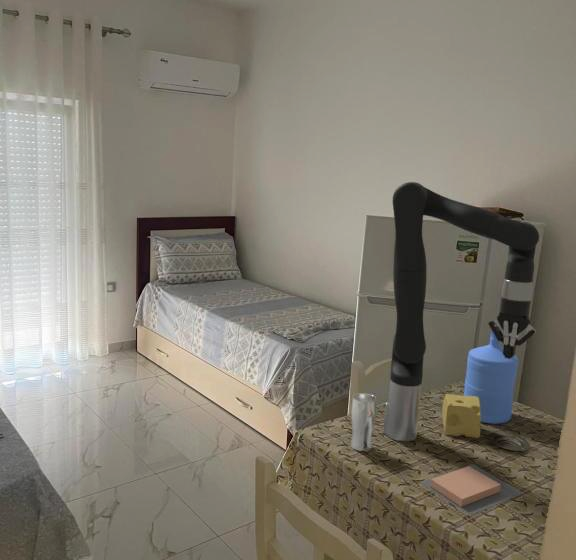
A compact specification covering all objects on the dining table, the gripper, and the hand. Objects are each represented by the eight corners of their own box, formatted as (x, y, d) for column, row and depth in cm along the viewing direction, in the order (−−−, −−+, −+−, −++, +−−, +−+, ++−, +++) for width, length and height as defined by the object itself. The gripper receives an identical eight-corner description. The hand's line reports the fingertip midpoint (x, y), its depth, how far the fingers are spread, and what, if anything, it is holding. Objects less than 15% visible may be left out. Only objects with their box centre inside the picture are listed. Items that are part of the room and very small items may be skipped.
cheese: (479, 440, 172) (483, 409, 170) (442, 435, 174) (445, 404, 172) (475, 425, 182) (479, 396, 180) (440, 421, 184) (443, 391, 182)
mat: (419, 484, 146) (419, 482, 146) (472, 466, 156) (472, 464, 156) (468, 517, 133) (469, 515, 132) (523, 495, 143) (523, 493, 143)
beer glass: (343, 446, 164) (347, 396, 161) (358, 438, 169) (361, 390, 166) (363, 455, 159) (367, 404, 157) (377, 447, 164) (382, 398, 162)
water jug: (492, 429, 180) (503, 343, 175) (451, 410, 193) (460, 330, 187) (520, 418, 189) (531, 337, 184) (480, 401, 202) (489, 325, 196)
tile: (468, 473, 151) (430, 487, 144) (469, 466, 151) (430, 479, 143) (499, 492, 143) (461, 507, 135) (500, 484, 142) (462, 499, 135)
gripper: (487, 294, 156) (479, 355, 159) (538, 303, 148) (529, 367, 151) (496, 290, 162) (489, 349, 165) (545, 298, 154) (537, 360, 157)
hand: (508, 357), depth 158 cm, fingers closed
